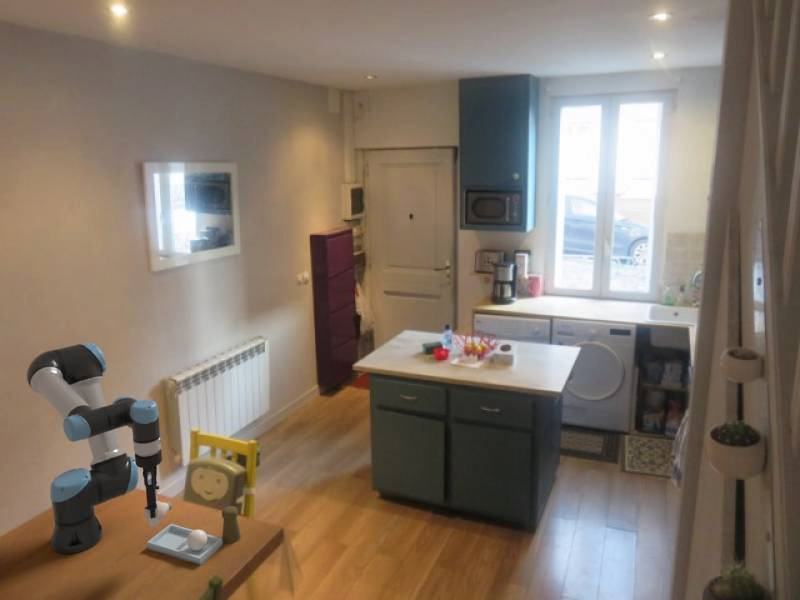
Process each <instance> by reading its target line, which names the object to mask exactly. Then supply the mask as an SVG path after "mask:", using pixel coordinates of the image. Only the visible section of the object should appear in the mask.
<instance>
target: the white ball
mask: <svg viewBox="0 0 800 600" xmlns="http://www.w3.org/2000/svg"><path fill="white" fill-rule="evenodd" d="M193 530H194V531H192V532H191V533H190V534H189V535H188V537H187V545H188V547H189V548H190V549H191V550H194V551H198V550H201V549H202V548H204V547H205V545H206V544H207V535H206V534H207V533H206V532H205V531H204V530H202V529H193Z"/></svg>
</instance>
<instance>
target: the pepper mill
mask: <svg viewBox="0 0 800 600" xmlns="http://www.w3.org/2000/svg"><path fill="white" fill-rule="evenodd" d="M238 515H239V510H238V508H237V507H236V506H233V505H230V506H226V507H224V508H223V509H222V511H221V517H222V519H223V525H222V536H221V538H222V542H223V543H225V544H234V543H236V542H238V541H239V540H240V539H242V538H241V537H242V535H241V530H240V527H239V522H238V521H239V520H238Z"/></svg>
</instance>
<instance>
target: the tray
mask: <svg viewBox="0 0 800 600" xmlns="http://www.w3.org/2000/svg"><path fill="white" fill-rule="evenodd" d="M194 530H195V529H191V528H187V527H183V526H180V525H177V524H173V523H170V524H168V525H167V526H166V527H164V529H162V530H161V531H159V532H158V533H157V534H156V535H154V536H153V537H152V538H150V539H149V540H148V541H146V545H147V550H151V551H153V552H158V553H160V554H163V555H166V556H168V557H172V558H176V559H179V560H182V561H185V562H188V563H191V564H194V565H197V566H201V565H203V564H204V563H205V562H206V561H207V560H209V558H210V557H211V556H213V555H214V554H215V553H216V552H217V551H218V550H220V549H221V547H222V546H224V545H223V543H224V542H223V540H222V537H219V536H215V535H212V534H207V533H206V535H207V544H206V545H205V547H204V548H202V549H201V550H198V551H194V550H191V549H190V548H189V547H188V545H187V537H188V535H189V534H190V533H191V532H192V531H194Z"/></svg>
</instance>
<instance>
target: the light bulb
mask: <svg viewBox="0 0 800 600" xmlns="http://www.w3.org/2000/svg"><path fill="white" fill-rule="evenodd" d="M156 504H157V509H158V520H159V523H160V522H161V521H162V520H163V519H165V516H166V514H167V513H168V512H169V511H171V510H172V509H173V504H172V502H170V501H167V502H163V501H160V500H158V501H156ZM145 507H147V504H146V505H145ZM143 516H144V519H145V521H147V522H148V523H149V519H148V510H147V509H145V508H144V510H143Z"/></svg>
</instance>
